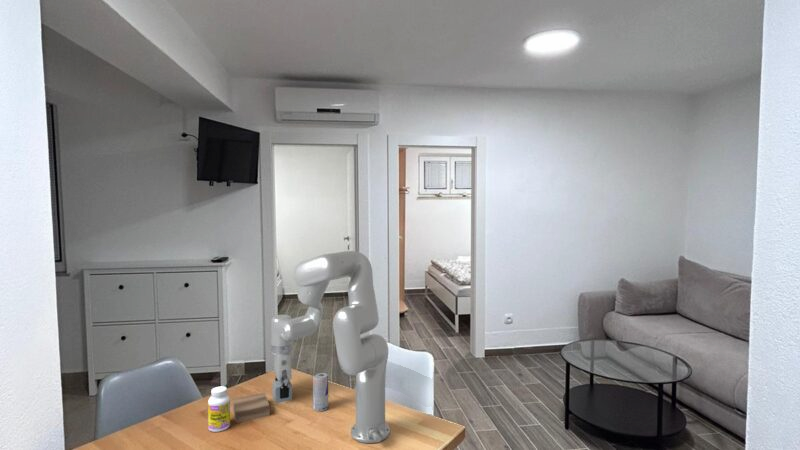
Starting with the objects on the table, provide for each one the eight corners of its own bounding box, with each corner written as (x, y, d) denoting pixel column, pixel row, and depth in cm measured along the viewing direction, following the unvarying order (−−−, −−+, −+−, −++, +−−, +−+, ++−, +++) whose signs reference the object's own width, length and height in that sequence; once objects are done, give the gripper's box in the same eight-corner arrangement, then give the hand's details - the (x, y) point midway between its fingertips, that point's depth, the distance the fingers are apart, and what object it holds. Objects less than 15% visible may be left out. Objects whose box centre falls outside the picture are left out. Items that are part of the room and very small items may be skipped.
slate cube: (292, 400, 156) (291, 384, 155) (275, 403, 153) (275, 387, 153) (288, 393, 161) (288, 378, 161) (272, 396, 158) (272, 381, 158)
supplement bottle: (206, 434, 132) (205, 394, 132) (210, 423, 139) (209, 386, 138) (229, 431, 134) (228, 392, 133) (231, 421, 140) (231, 383, 140)
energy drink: (329, 405, 152) (329, 373, 151) (325, 412, 146) (325, 379, 146) (315, 404, 152) (315, 372, 152) (311, 411, 147) (311, 378, 146)
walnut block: (269, 416, 144) (269, 405, 144) (235, 424, 139) (235, 412, 139) (264, 403, 154) (264, 392, 154) (232, 409, 149) (232, 399, 149)
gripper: (296, 354, 150) (296, 400, 151) (287, 340, 166) (287, 381, 166) (275, 357, 147) (275, 404, 148) (267, 342, 162) (268, 385, 163)
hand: (282, 392), depth 157 cm, fingers open, 9 cm apart
